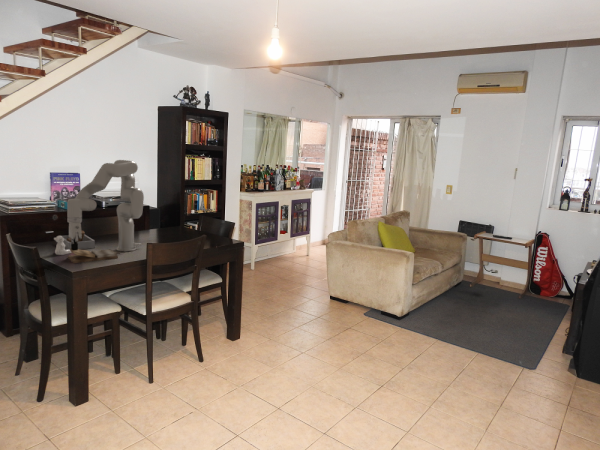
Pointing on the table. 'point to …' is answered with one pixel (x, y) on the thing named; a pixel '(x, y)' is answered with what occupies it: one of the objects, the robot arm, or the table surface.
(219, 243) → the table surface
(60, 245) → the sitting furry creature
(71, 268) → the table surface
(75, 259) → the floor board
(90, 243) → the block crate
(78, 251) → the oak plank
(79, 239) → the wooden block set
